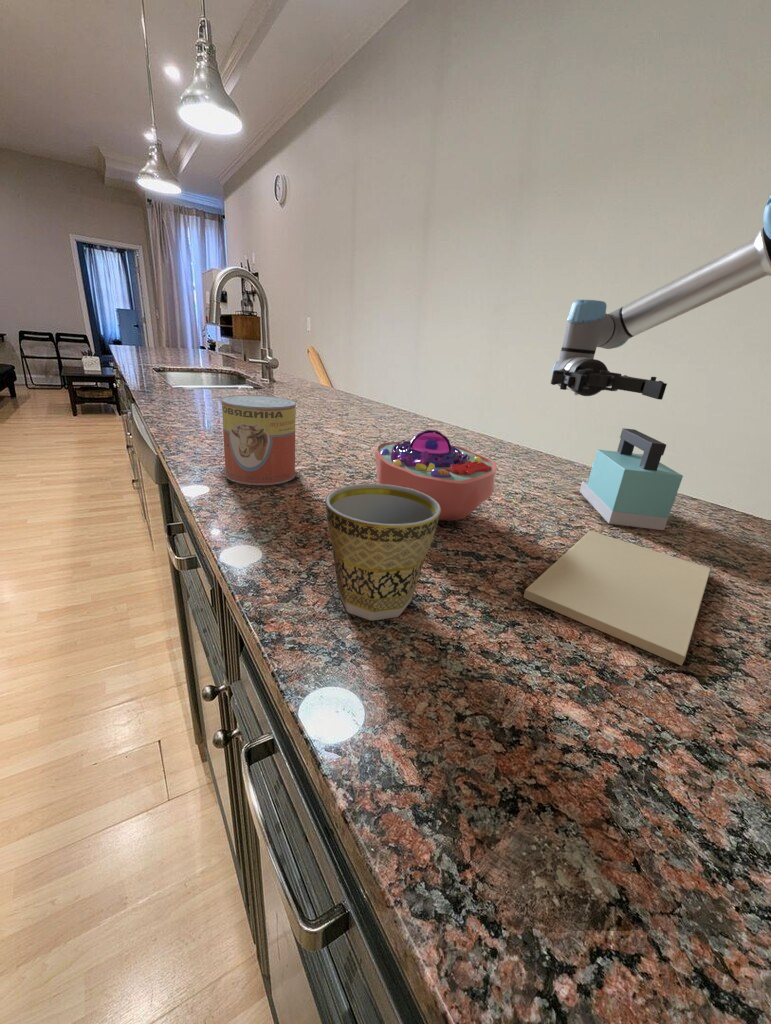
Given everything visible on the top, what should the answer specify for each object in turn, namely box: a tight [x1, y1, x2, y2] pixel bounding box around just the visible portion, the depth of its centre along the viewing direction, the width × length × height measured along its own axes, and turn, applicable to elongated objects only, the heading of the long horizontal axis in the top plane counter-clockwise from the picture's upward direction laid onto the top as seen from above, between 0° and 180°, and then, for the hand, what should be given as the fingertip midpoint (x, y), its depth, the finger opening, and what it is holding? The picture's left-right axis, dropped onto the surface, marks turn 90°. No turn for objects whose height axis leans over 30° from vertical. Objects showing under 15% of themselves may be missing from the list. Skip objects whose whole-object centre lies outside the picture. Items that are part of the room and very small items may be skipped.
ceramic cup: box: [324, 483, 441, 622], centre depth 42 cm, size 13×10×10 cm
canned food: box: [220, 394, 297, 486], centre depth 72 cm, size 11×11×12 cm
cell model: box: [373, 429, 497, 522], centre depth 62 cm, size 17×20×11 cm
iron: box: [579, 427, 684, 531], centre depth 71 cm, size 16×8×12 cm, turn 174°
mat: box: [523, 530, 711, 666], centre depth 49 cm, size 22×14×1 cm, turn 141°
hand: (621, 387), depth 77 cm, fingers open, 13 cm apart
